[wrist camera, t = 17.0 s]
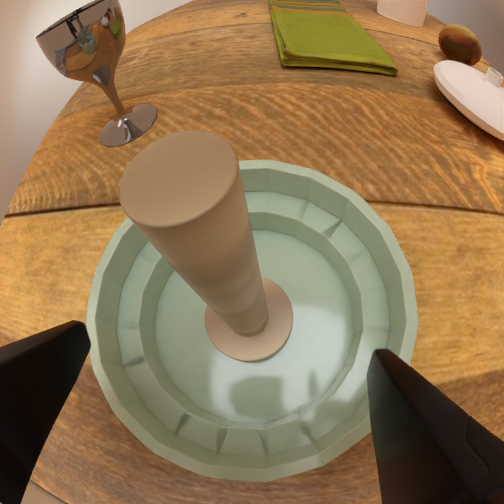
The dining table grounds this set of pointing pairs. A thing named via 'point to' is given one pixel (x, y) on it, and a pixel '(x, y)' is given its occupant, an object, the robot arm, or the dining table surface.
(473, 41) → the fruit
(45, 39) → the wine glass
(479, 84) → the flat round vase
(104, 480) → the dining table surface
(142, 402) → the bowl
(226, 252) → the beige piece
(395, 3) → the bottle
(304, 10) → the dish towel
